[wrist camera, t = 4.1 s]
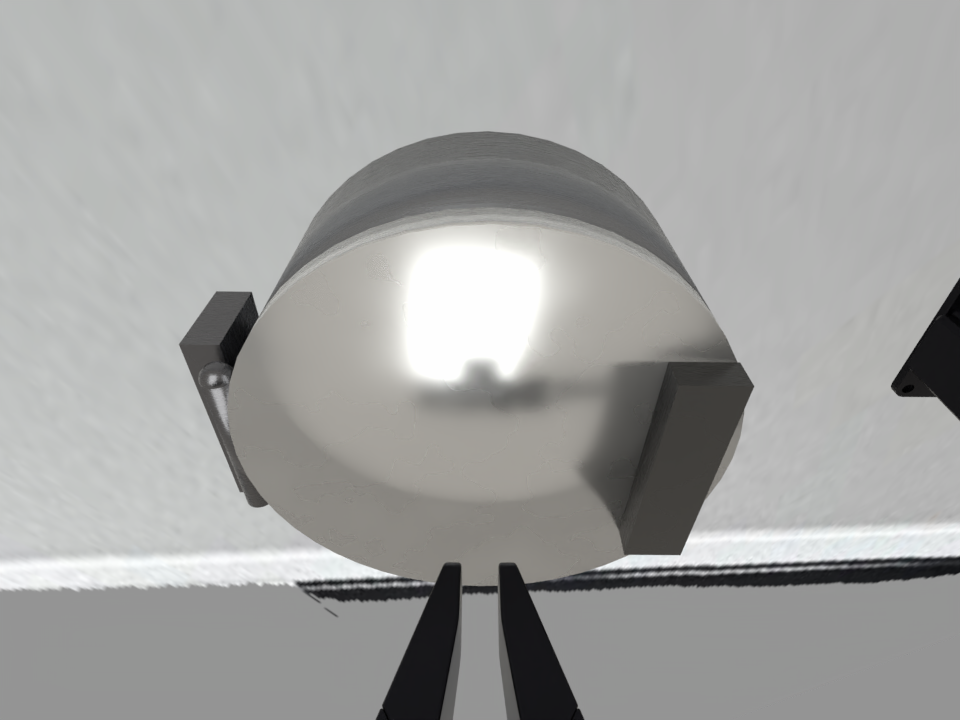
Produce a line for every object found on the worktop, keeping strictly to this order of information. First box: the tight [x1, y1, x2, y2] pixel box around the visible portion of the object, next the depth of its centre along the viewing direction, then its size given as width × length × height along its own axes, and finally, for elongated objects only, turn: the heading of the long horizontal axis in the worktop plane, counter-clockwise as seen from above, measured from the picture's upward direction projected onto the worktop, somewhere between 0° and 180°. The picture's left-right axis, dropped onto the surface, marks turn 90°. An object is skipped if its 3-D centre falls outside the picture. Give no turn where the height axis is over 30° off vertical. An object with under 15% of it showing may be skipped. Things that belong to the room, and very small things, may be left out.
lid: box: [198, 207, 754, 586], centre depth 18 cm, size 16×16×2 cm
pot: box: [179, 131, 710, 492], centre depth 21 cm, size 17×16×6 cm
